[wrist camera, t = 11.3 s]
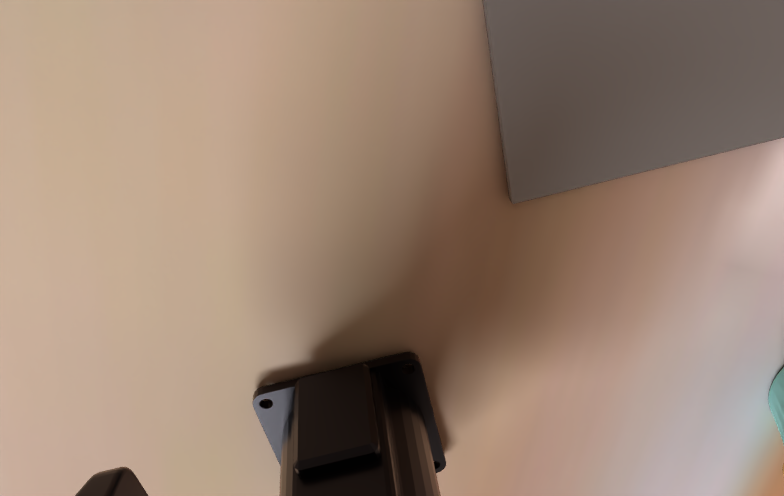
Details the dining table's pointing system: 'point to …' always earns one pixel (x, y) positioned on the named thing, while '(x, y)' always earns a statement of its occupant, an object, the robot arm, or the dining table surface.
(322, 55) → the dining table surface
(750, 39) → the mat
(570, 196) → the dining table surface
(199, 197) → the dining table surface
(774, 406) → the cupcake
